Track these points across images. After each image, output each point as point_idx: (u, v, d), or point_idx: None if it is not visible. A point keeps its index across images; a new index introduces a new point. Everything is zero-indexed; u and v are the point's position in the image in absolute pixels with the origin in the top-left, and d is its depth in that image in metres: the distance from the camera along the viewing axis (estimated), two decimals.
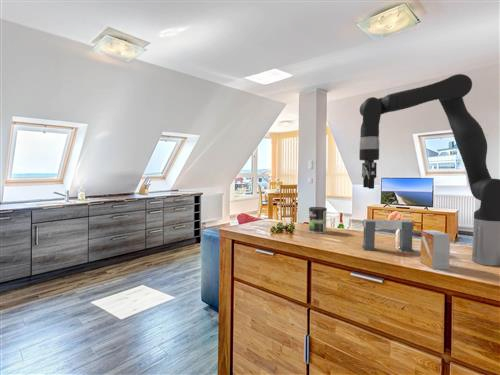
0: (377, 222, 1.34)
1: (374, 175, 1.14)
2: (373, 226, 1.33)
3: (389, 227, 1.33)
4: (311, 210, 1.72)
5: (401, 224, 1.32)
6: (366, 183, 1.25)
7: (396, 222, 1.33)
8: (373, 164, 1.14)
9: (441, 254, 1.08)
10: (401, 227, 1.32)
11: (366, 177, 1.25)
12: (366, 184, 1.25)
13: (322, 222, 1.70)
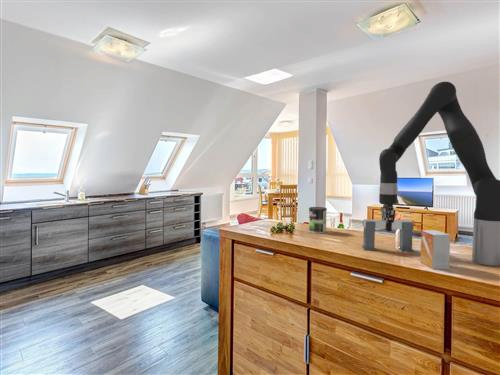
0: (377, 222, 1.34)
1: (392, 220, 1.30)
2: (373, 226, 1.33)
3: None
4: (311, 210, 1.72)
5: (401, 224, 1.32)
6: None
7: (396, 222, 1.33)
8: (392, 212, 1.28)
9: (441, 254, 1.08)
10: (401, 227, 1.32)
11: (386, 220, 1.37)
12: None
13: (322, 222, 1.70)
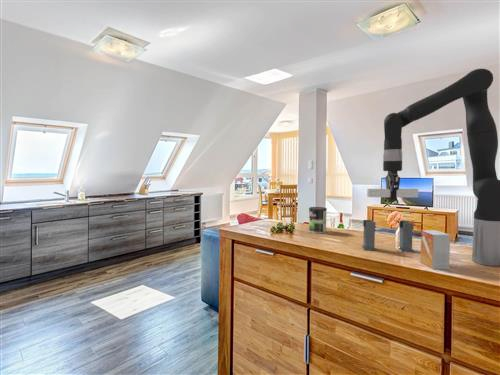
0: (381, 191, 1.29)
1: (396, 188, 1.25)
2: (373, 226, 1.33)
3: None
4: (311, 210, 1.72)
5: (406, 192, 1.27)
6: None
7: (401, 190, 1.27)
8: (397, 179, 1.23)
9: (441, 254, 1.08)
10: (406, 195, 1.27)
11: (391, 189, 1.31)
12: (391, 196, 1.31)
13: (322, 222, 1.70)
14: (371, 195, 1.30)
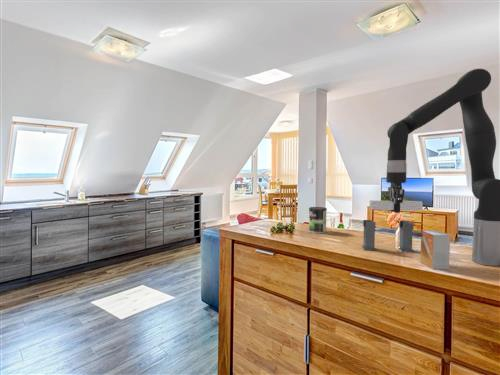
0: (384, 203, 1.23)
1: (400, 200, 1.20)
2: (373, 226, 1.33)
3: None
4: (311, 210, 1.72)
5: (410, 205, 1.22)
6: None
7: (405, 203, 1.22)
8: (401, 191, 1.18)
9: (441, 254, 1.08)
10: (410, 208, 1.22)
11: (394, 201, 1.26)
12: None
13: (322, 222, 1.70)
14: (374, 207, 1.24)
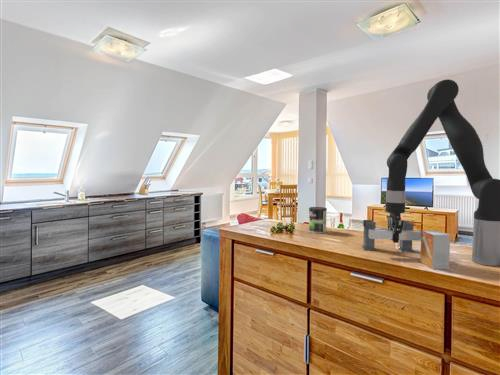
0: (383, 232, 1.24)
1: (399, 231, 1.20)
2: (373, 226, 1.33)
3: None
4: (311, 210, 1.72)
5: (409, 235, 1.23)
6: None
7: (403, 233, 1.23)
8: (400, 223, 1.19)
9: (441, 254, 1.08)
10: (409, 238, 1.23)
11: (393, 230, 1.27)
12: None
13: (322, 222, 1.70)
14: (373, 237, 1.25)
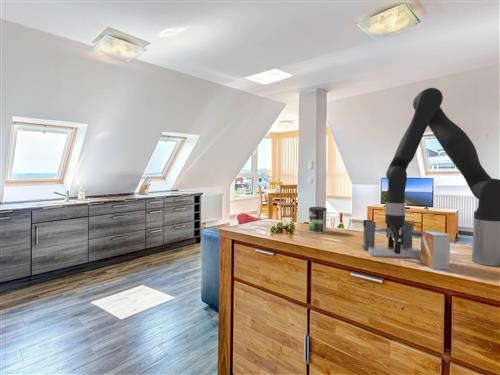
0: (383, 250, 1.25)
1: (401, 242, 1.18)
2: (373, 226, 1.33)
3: (396, 256, 1.24)
4: (311, 210, 1.72)
5: (409, 253, 1.23)
6: (391, 244, 1.29)
7: (403, 251, 1.23)
8: (400, 232, 1.18)
9: (441, 254, 1.08)
10: (409, 256, 1.23)
11: (391, 238, 1.30)
12: (391, 245, 1.30)
13: (322, 222, 1.70)
14: (373, 255, 1.25)
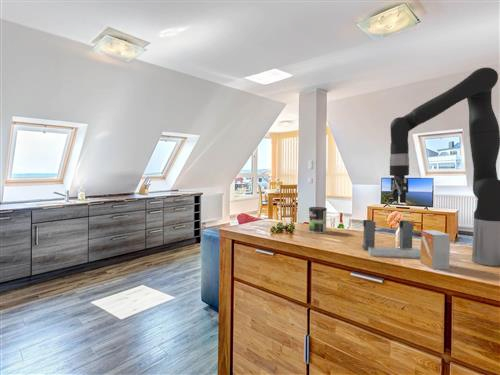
0: (383, 250, 1.25)
1: (406, 190, 1.21)
2: (373, 226, 1.33)
3: (396, 256, 1.24)
4: (311, 210, 1.72)
5: (409, 253, 1.23)
6: (396, 196, 1.32)
7: (403, 251, 1.23)
8: (405, 180, 1.21)
9: (441, 254, 1.08)
10: (409, 256, 1.23)
11: (395, 191, 1.33)
12: (396, 198, 1.32)
13: (322, 222, 1.70)
14: (372, 255, 1.25)
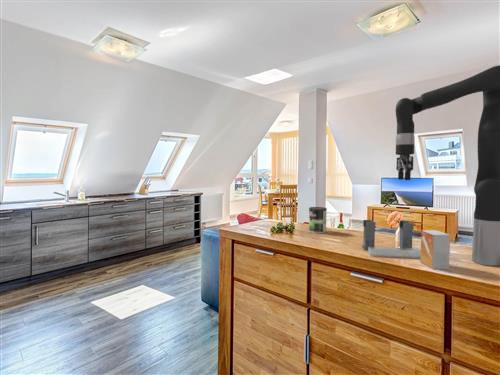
0: (383, 250, 1.25)
1: (411, 168, 1.27)
2: (373, 226, 1.33)
3: (396, 256, 1.24)
4: (311, 210, 1.72)
5: (409, 253, 1.23)
6: (401, 175, 1.38)
7: (403, 251, 1.23)
8: (410, 158, 1.27)
9: (441, 254, 1.08)
10: (409, 256, 1.23)
11: (401, 170, 1.38)
12: (401, 176, 1.38)
13: (322, 222, 1.70)
14: (372, 255, 1.26)
